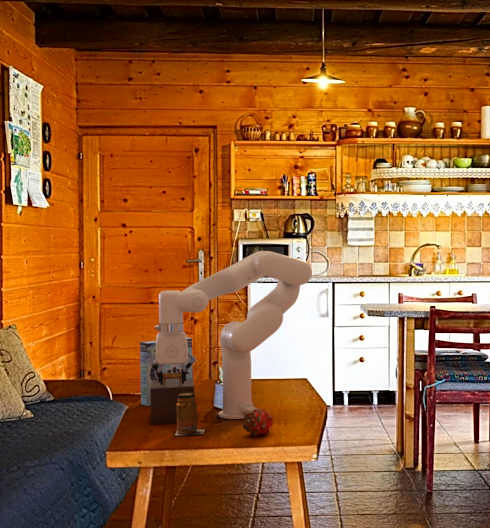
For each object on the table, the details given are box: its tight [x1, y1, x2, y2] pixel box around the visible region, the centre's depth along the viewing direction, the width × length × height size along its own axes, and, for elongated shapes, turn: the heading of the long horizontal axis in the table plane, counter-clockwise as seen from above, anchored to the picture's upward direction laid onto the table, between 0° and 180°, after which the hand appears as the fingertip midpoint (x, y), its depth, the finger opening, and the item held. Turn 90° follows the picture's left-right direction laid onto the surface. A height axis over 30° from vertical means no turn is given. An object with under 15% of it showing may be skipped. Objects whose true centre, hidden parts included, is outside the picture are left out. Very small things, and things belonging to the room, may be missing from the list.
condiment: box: [174, 392, 206, 437], centre depth 258 cm, size 7×8×12 cm
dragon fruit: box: [242, 408, 274, 437], centre depth 254 cm, size 8×8×12 cm
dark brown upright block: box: [150, 372, 195, 391], centre depth 280 cm, size 18×14×5 cm
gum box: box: [139, 337, 194, 407], centre depth 310 cm, size 20×5×23 cm, turn 134°
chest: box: [150, 388, 195, 425], centre depth 281 cm, size 17×14×11 cm
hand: (172, 383), depth 274 cm, fingers closed on dark brown upright block, 6 cm apart
